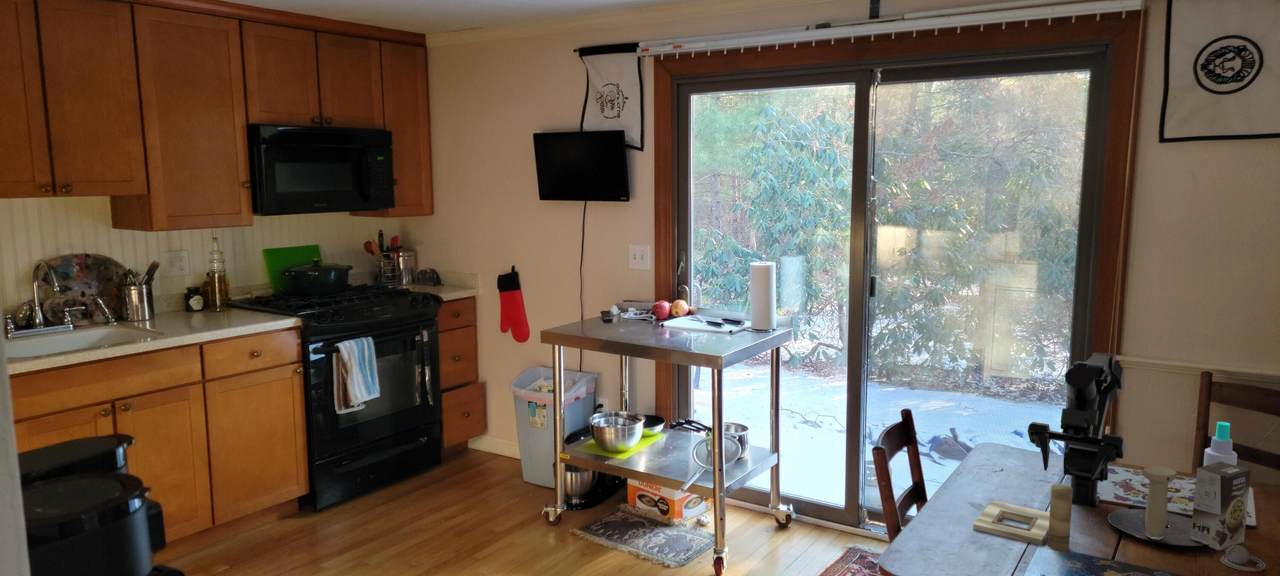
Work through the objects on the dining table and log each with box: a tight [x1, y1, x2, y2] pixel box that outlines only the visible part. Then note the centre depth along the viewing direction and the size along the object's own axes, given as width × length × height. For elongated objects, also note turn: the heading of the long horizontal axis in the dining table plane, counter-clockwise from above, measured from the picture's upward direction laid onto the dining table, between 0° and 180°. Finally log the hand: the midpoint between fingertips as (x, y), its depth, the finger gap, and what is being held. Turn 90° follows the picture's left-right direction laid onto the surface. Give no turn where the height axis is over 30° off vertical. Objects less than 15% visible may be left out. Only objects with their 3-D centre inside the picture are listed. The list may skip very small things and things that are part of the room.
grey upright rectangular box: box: [1190, 462, 1252, 551], centre depth 183 cm, size 9×6×16 cm
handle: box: [1142, 466, 1178, 537], centre depth 185 cm, size 5×6×15 cm
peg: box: [1047, 483, 1073, 552], centre depth 181 cm, size 4×4×13 cm
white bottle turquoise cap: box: [1203, 421, 1238, 466], centre depth 195 cm, size 6×6×22 cm
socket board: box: [972, 500, 1050, 546], centre depth 194 cm, size 16×14×1 cm
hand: (1068, 474), depth 187 cm, fingers open, 9 cm apart
